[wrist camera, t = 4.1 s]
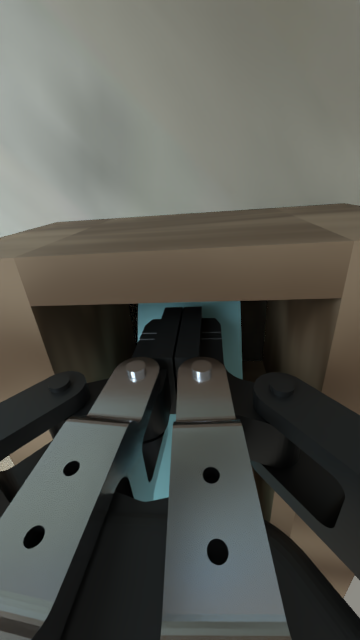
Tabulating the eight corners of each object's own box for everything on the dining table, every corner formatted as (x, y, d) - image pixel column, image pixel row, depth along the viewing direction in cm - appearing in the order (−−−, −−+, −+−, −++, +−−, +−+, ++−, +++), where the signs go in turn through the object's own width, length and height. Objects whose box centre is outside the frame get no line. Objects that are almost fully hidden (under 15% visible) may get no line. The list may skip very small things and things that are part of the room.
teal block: (156, 308, 16) (138, 294, 12) (233, 306, 16) (239, 291, 12) (155, 565, 14) (133, 646, 11) (240, 574, 14) (251, 661, 10)
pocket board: (57, 222, 16) (-95, 262, 8) (344, 203, 14) (519, 232, 6) (116, 449, 25) (73, 573, 17) (296, 456, 23) (342, 601, 15)
